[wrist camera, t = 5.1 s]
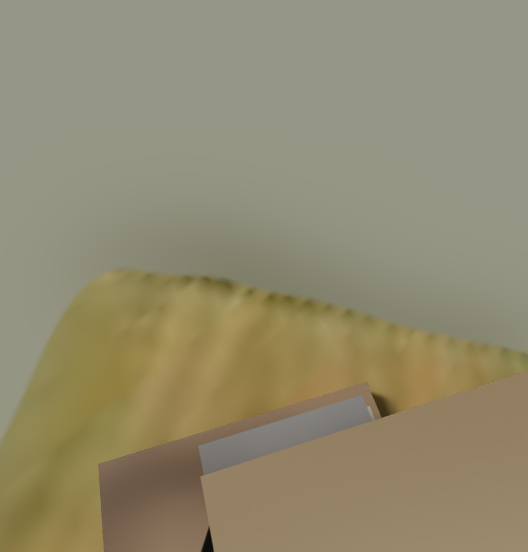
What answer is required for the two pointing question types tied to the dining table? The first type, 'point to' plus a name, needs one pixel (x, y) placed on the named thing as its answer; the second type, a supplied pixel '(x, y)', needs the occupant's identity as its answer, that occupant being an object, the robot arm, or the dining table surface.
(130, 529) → the plank
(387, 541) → the wooden post with base
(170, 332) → the dining table surface
